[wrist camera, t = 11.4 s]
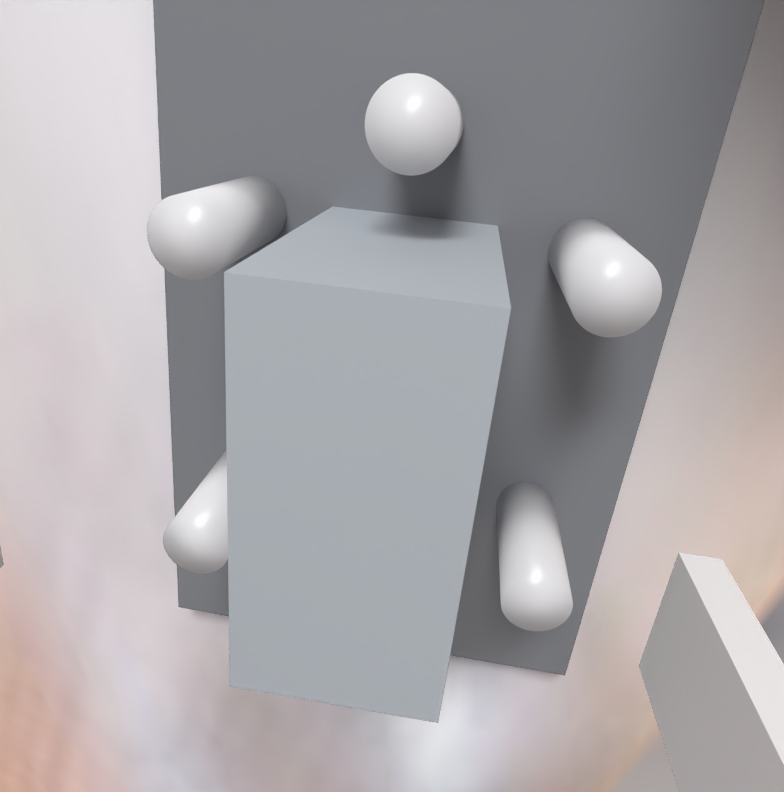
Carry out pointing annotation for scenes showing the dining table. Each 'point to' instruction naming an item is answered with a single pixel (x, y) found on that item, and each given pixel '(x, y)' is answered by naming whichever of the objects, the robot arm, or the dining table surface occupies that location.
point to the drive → (357, 452)
